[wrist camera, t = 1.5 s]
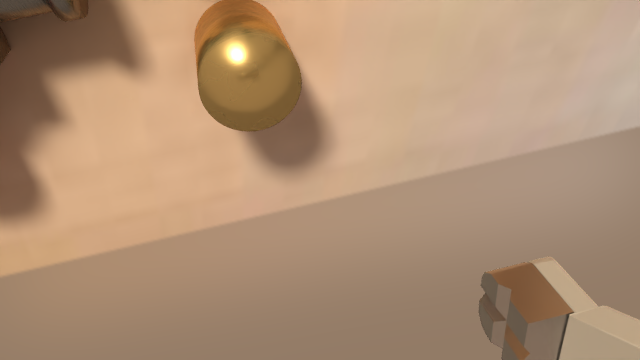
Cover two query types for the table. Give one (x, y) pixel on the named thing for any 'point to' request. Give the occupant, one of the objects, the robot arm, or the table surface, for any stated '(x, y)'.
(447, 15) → the table surface
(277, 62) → the brass coupling
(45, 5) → the valve body
